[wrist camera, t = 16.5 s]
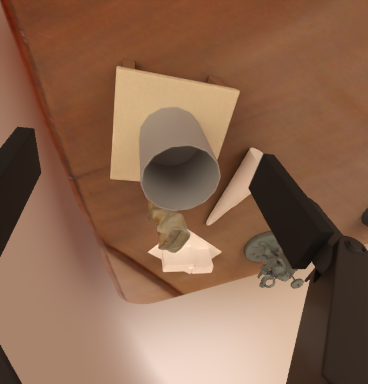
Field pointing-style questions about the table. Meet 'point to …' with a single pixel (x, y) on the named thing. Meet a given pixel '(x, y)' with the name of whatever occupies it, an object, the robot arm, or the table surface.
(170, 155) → the cup
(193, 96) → the side table
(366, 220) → the mug
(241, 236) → the table surface
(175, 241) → the sculpture
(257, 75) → the table surface
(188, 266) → the napkin holder
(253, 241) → the figurine
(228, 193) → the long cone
